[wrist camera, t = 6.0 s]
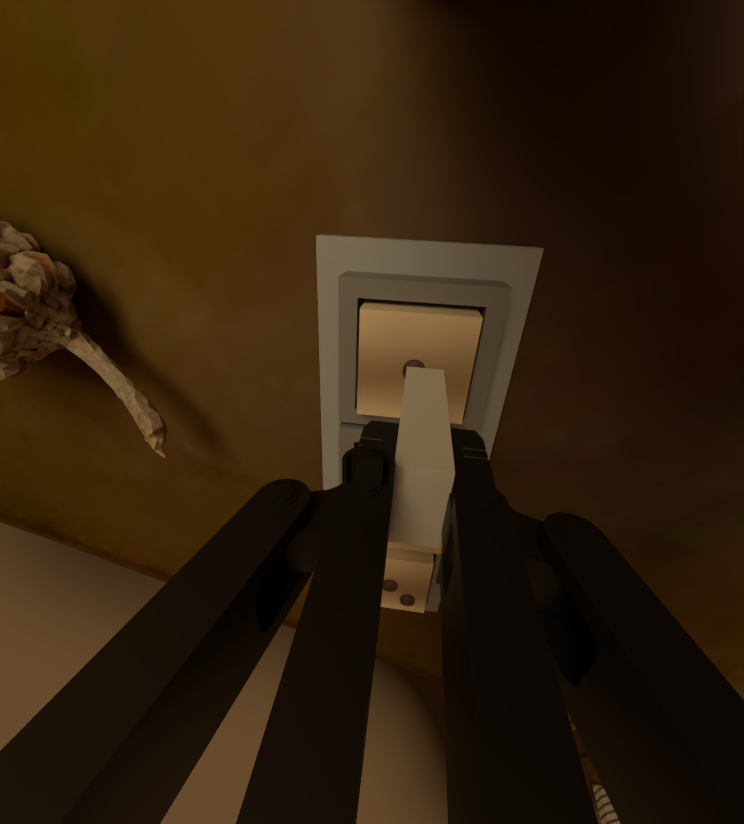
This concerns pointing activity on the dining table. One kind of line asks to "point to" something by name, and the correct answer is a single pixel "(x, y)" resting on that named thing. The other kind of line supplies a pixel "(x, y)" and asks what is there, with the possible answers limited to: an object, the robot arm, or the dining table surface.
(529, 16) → the dining table surface
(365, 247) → the button board
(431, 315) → the tan square block
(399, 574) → the tile
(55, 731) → the robot arm
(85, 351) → the pine cone
